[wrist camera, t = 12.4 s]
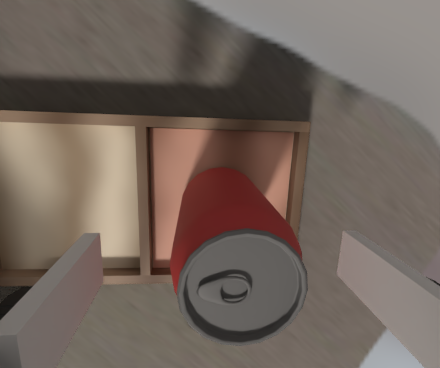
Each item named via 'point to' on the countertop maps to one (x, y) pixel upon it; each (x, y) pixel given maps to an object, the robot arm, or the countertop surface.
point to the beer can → (235, 261)
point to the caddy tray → (127, 184)
